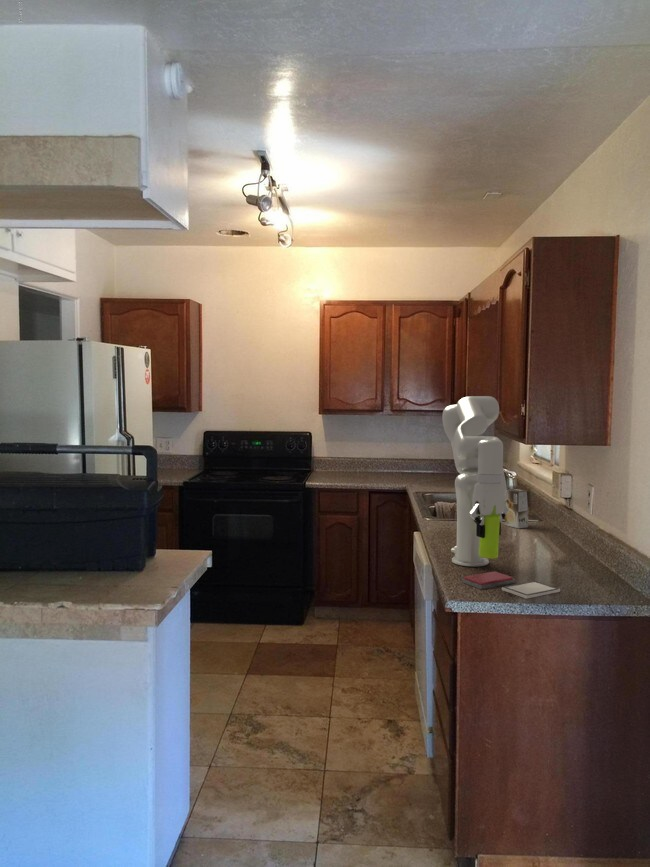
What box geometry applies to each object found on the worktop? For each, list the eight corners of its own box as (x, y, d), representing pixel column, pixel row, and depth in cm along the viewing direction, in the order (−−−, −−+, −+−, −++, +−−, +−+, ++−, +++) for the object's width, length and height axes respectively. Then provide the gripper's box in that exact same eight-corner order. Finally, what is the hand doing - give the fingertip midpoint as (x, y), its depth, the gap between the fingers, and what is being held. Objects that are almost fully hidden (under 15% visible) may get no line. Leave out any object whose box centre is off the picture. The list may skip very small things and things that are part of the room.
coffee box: (529, 527, 307) (530, 490, 306) (518, 528, 304) (518, 492, 303) (514, 523, 315) (515, 488, 314) (503, 525, 312) (504, 489, 311)
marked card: (501, 589, 213) (501, 586, 213) (534, 583, 220) (534, 580, 220) (526, 598, 204) (526, 595, 204) (560, 591, 211) (560, 588, 211)
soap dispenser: (495, 552, 225) (498, 491, 222) (499, 558, 218) (503, 495, 215) (476, 551, 225) (479, 490, 222) (480, 558, 218) (483, 495, 216)
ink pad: (461, 582, 221) (461, 576, 221) (494, 576, 228) (494, 570, 228) (481, 589, 213) (481, 583, 213) (515, 583, 220) (515, 577, 220)
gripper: (501, 475, 226) (500, 530, 228) (460, 479, 218) (459, 536, 219) (519, 478, 220) (517, 535, 221) (477, 482, 211) (475, 541, 213)
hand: (488, 535), depth 220 cm, fingers closed on soap dispenser, 5 cm apart
